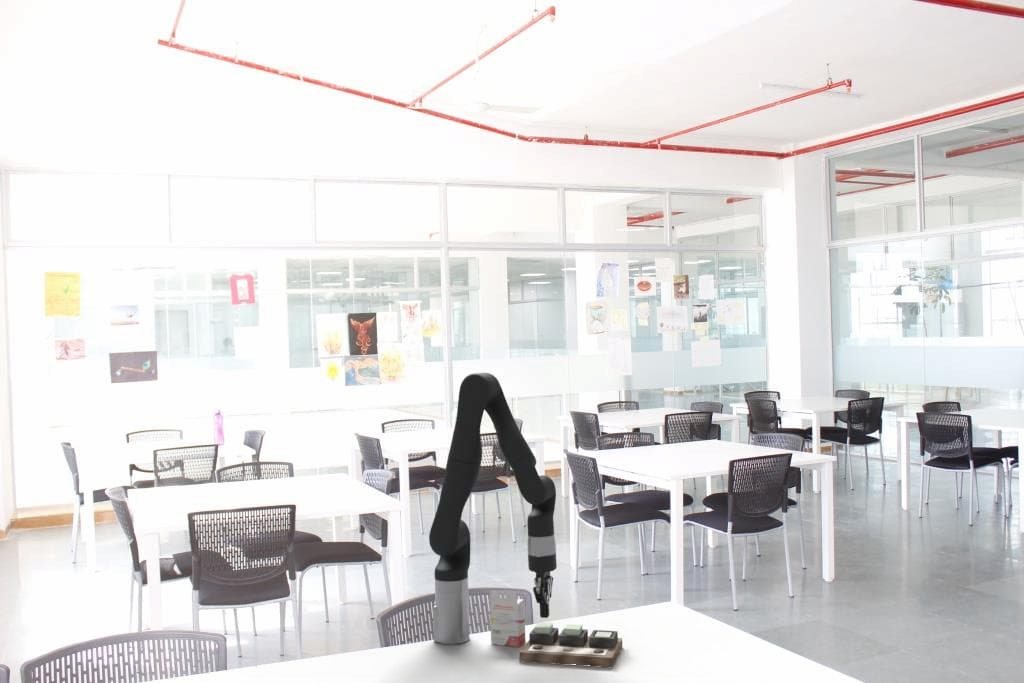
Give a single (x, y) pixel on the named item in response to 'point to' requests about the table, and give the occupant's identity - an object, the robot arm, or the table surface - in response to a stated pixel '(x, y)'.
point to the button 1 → (544, 628)
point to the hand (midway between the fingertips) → (544, 616)
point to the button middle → (573, 630)
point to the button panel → (572, 648)
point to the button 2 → (603, 634)
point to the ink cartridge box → (507, 619)
